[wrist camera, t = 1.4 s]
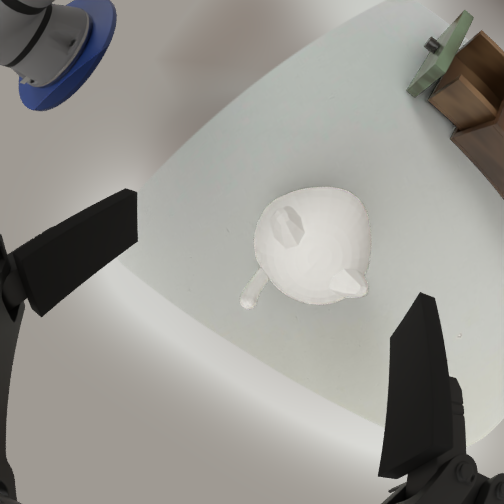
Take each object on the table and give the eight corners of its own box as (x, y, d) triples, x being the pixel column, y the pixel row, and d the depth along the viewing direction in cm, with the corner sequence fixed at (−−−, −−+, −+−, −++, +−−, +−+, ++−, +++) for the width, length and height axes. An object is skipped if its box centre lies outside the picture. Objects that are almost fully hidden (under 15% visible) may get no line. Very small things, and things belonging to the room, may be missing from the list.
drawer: (397, 83, 24) (423, 54, 17) (430, 32, 22) (455, 2, 14) (489, 171, 24) (531, 169, 16) (514, 113, 22) (550, 102, 14)
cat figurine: (368, 227, 29) (429, 256, 14) (287, 311, 32) (277, 398, 17) (304, 167, 28) (311, 138, 14) (225, 257, 31) (166, 308, 17)
